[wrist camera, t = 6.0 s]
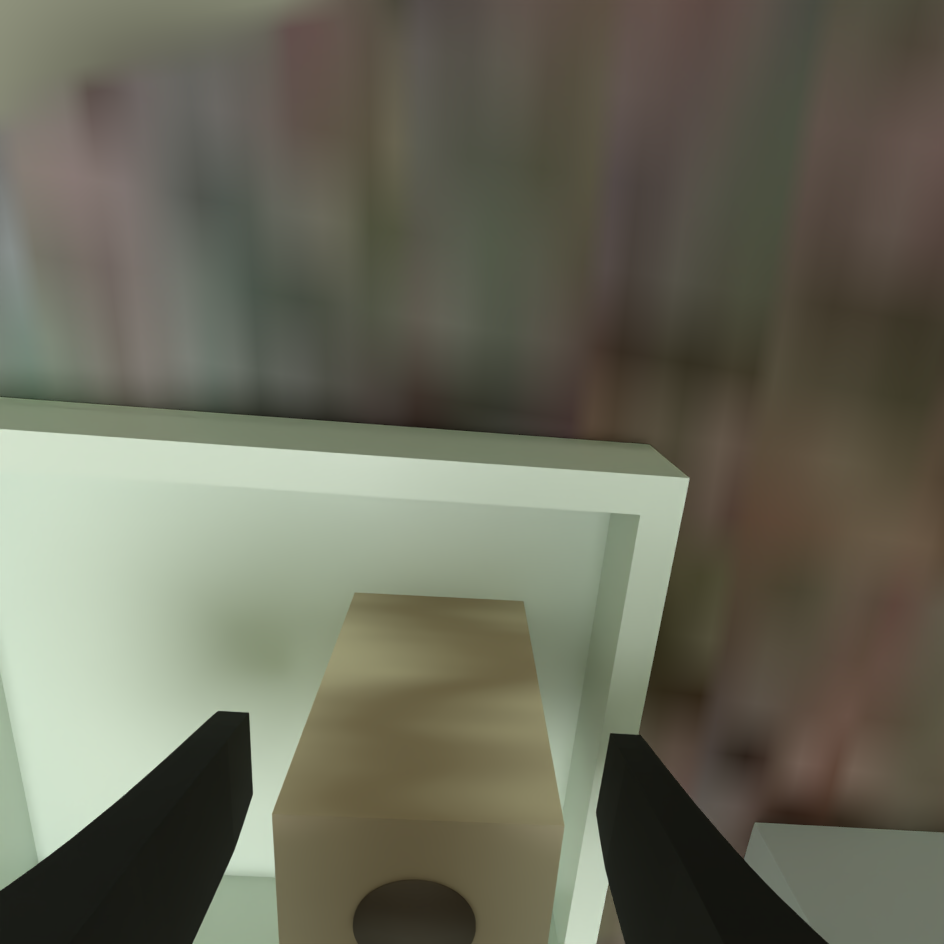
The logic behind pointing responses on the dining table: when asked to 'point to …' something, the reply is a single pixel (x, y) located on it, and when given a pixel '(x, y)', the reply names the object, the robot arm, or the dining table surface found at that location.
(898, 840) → the large block
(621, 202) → the dining table surface
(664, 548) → the tray
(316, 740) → the small block
